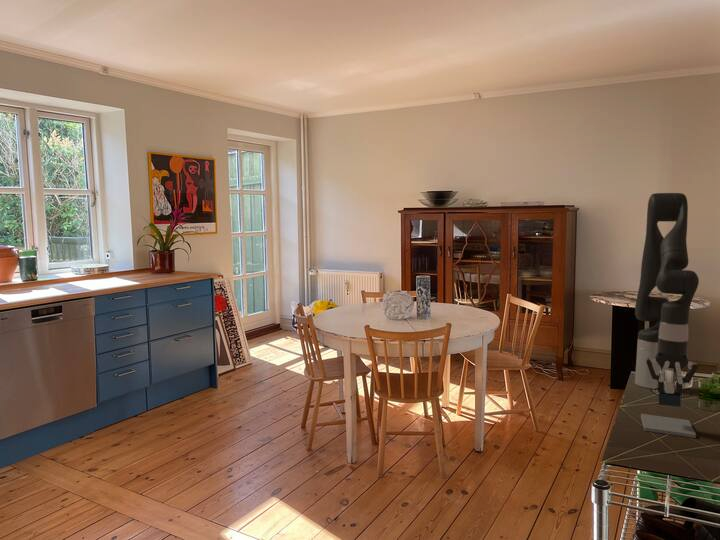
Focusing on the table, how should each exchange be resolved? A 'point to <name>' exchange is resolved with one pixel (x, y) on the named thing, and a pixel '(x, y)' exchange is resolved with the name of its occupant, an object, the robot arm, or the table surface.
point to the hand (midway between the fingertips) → (669, 394)
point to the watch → (670, 390)
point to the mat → (667, 425)
